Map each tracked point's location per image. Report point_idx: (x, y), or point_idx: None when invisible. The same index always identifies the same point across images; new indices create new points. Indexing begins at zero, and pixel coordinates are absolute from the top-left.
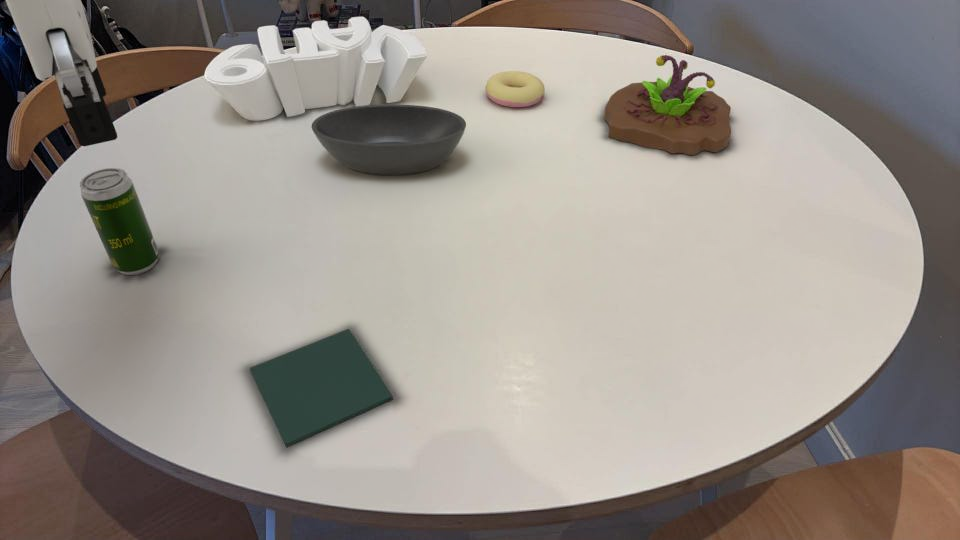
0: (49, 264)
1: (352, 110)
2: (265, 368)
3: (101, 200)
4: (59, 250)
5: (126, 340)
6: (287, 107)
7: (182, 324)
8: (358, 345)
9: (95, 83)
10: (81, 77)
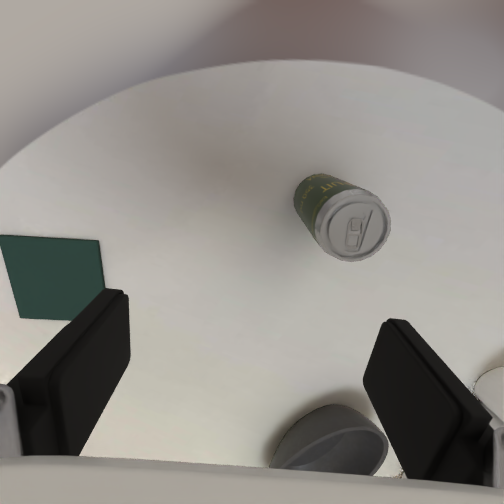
0: (384, 107)
1: (375, 463)
2: (89, 252)
3: (319, 211)
4: (403, 124)
5: (196, 154)
6: None
7: (191, 208)
8: None
9: (380, 404)
10: (403, 405)
